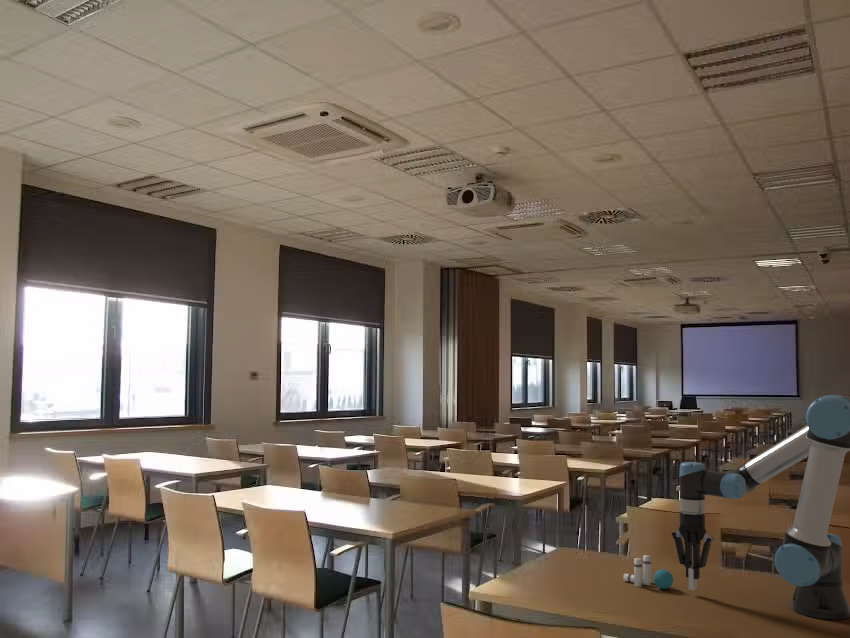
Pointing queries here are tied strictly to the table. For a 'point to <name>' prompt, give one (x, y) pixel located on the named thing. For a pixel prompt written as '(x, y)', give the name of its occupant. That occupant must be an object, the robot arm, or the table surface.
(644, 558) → the pin
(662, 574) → the ball
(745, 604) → the table surface
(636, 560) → the pin
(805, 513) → the robot arm
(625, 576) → the front pin
